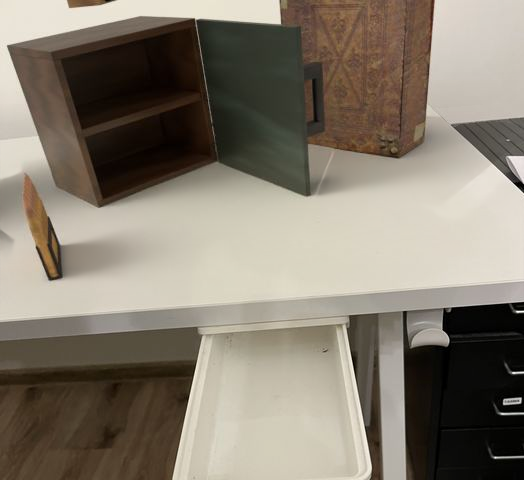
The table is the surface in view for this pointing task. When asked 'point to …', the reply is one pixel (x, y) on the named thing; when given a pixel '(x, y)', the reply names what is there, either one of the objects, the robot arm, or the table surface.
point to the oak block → (86, 3)
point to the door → (261, 99)
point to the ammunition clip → (42, 230)
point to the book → (367, 70)
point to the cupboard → (118, 105)
